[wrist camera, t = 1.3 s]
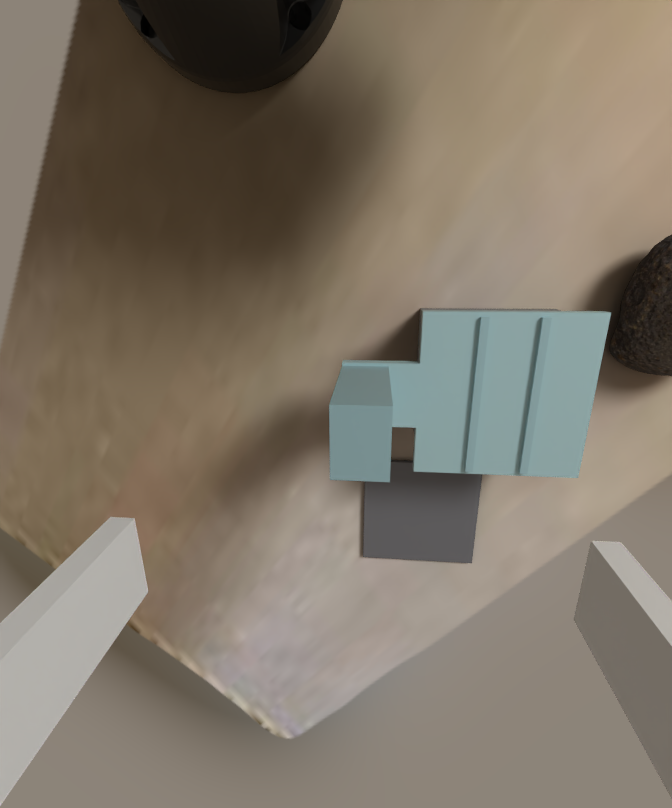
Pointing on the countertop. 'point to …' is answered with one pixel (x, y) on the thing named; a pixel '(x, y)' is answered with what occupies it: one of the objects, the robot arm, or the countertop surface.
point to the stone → (647, 315)
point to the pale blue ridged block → (474, 396)
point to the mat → (421, 515)
